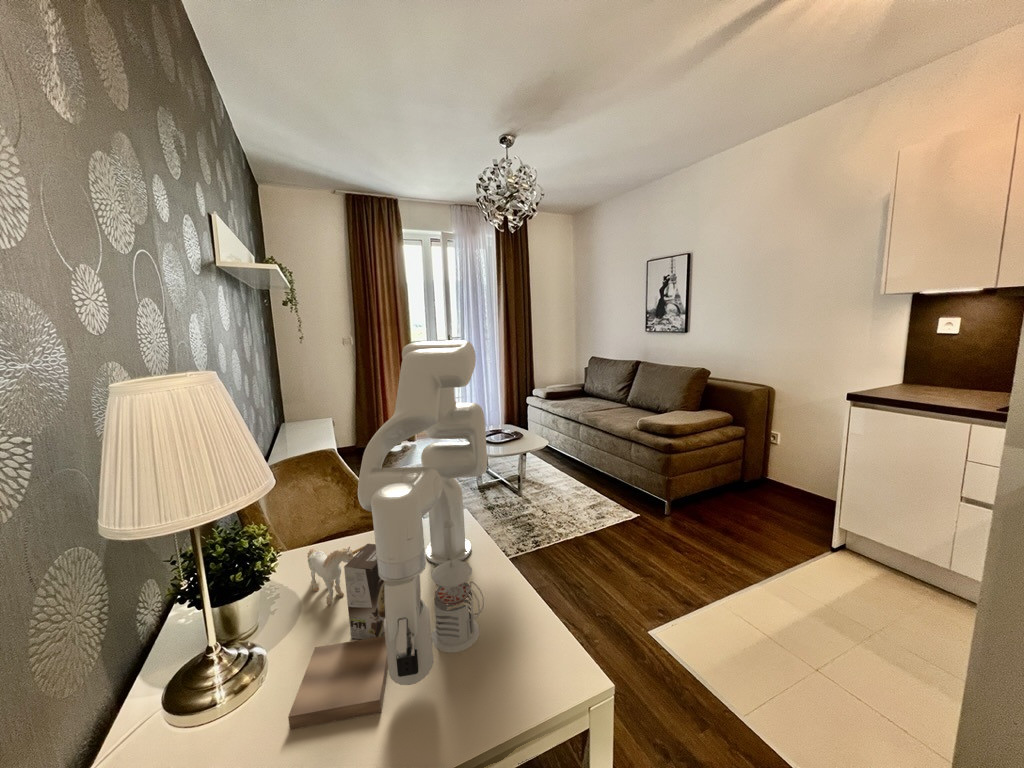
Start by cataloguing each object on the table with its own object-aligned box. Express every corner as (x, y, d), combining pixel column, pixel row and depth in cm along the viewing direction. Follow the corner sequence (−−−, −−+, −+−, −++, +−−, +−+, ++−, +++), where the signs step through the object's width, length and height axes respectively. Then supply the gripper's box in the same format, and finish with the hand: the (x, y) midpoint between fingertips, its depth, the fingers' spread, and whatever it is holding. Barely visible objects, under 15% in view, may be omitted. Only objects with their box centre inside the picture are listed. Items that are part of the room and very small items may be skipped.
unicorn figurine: (352, 615, 89) (347, 560, 87) (291, 594, 96) (284, 543, 94) (375, 595, 95) (370, 543, 93) (316, 577, 103) (310, 528, 101)
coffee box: (378, 642, 81) (371, 569, 78) (349, 638, 82) (342, 566, 80) (399, 610, 90) (393, 544, 87) (373, 607, 91) (367, 541, 89)
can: (393, 654, 72) (387, 595, 70) (435, 649, 73) (430, 590, 71) (385, 692, 65) (378, 628, 63) (432, 686, 66) (426, 622, 64)
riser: (316, 658, 78) (315, 647, 77) (391, 646, 80) (390, 635, 80) (290, 730, 64) (288, 716, 64) (381, 712, 66) (379, 699, 66)
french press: (449, 610, 89) (442, 505, 85) (495, 626, 84) (490, 515, 80) (421, 642, 81) (412, 527, 77) (470, 662, 75) (463, 540, 72)
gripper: (385, 534, 73) (393, 618, 76) (368, 600, 56) (380, 705, 59) (426, 528, 74) (433, 612, 78) (423, 592, 57) (431, 695, 61)
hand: (410, 652), depth 68 cm, fingers closed on can, 7 cm apart
